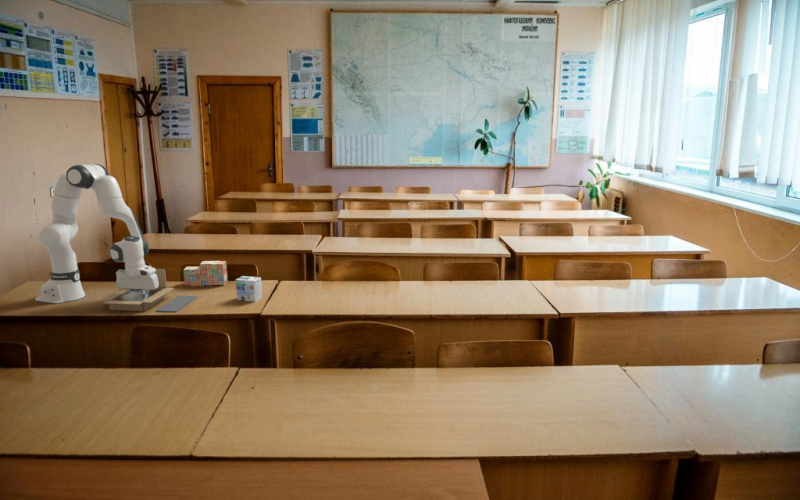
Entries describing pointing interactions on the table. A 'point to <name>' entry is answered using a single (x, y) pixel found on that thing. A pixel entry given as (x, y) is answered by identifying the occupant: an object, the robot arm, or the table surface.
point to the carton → (118, 302)
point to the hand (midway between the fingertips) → (139, 297)
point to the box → (137, 295)
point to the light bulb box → (249, 288)
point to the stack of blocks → (206, 274)
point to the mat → (177, 304)
